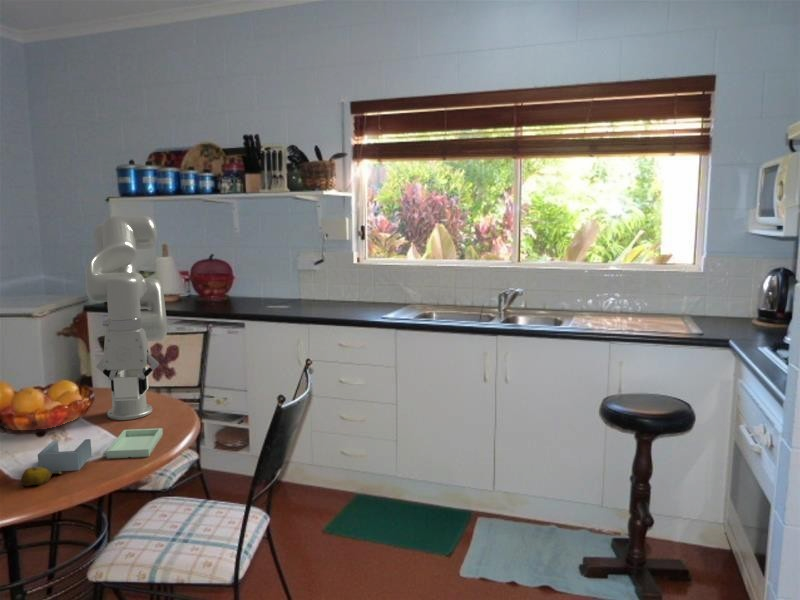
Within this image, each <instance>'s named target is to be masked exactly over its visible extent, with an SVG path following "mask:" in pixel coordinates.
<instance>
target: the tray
mask: <svg viewBox="0 0 800 600" xmlns="http://www.w3.org/2000/svg"><path fill="white" fill-rule="evenodd" d="M163 430H164V429H163V428H162V427H161V428H160V427H158V428H137V429H133V428H132V429H123V430H122V432H120V434H119V436H117V437H116V439H115V440H114V441H113V443H112V444H111V445H110V446H109V447H108V448H107V450H106V453H105V454H106V459H107V460H108V459H129V458H128V457H131V458H143V457H144V458H147V457H150V456H151V454H152V453H153V451H154V450H155V448H156V446H157V445H158V443H159V442H160V440H161V438H162V437H163V436H164V433H163V432H164V431H163Z"/></svg>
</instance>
